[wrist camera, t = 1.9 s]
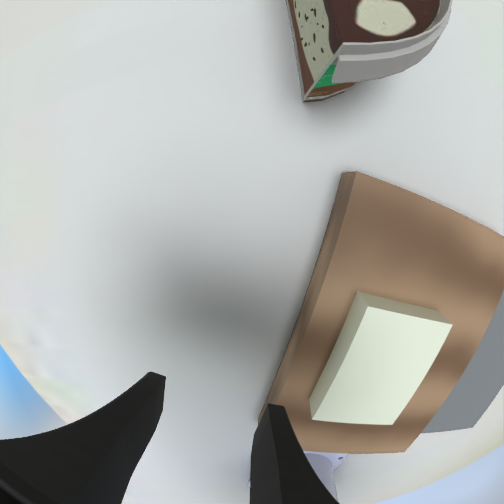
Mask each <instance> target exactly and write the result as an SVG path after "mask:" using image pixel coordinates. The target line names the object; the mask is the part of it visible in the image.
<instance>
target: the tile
mask: <svg viewBox="0 0 504 504" xmlns="http://www.w3.org/2000/svg"><path fill="white" fill-rule="evenodd" d="M452 325H453V324H451V323H450V322H449V321H448V320H447V319H446V318H445V317H444V316H443V315H442V314H441V313H440V312H438V311H437V310H433V309H429V308H425V307H421V306H416V305H412V304H408V303H404V302H400V301H396V300H391V299H387V298H383V297H379V296H375V295H371V294H367V293H363V292H359V291H357V292H356V295H355V298H354V300H353V303H352V305H351V308H350V310H349V313H348V315H347V318H346V320H345V323H344V325H343V327H342V330H341V332H340V334H339V337H338V339H337V341H336V344H335V346H334V348H333V350H332V353H331V355H330V357H329V359H328V361H327V363H326V365H325V368H324V370H323V372H322V374H321V376H320V378H319V380H318V382H317V384H316V386H315V388H314V390H313V392H312V394H311V396H310V398H309V402H310V409H311V416H312V420H319V421H329V422H340V423H354V424H376V425H392V424H393V423H394V422H395V420H396V419H397V418H398V416H399V415H400V413H401V412H402V411H403V409H404V408H405V406H406V405H407V403H408V402H409V400H410V399H411V398H412V396H413V394H414V393H415V391H416V390H417V388H418V387H419V385H420V384H421V382H422V380H423V379H424V377H425V375H426V374H427V372H428V370H429V369H430V367H431V365H432V363H433V362H434V360H435V358H436V356H437V355H438V353H439V351H440V349H441V347H442V345H443V343H444V341H445V339H446V337H447V335H448V333H449V331H450V329H451V327H452Z"/></svg>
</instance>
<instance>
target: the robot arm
mask: <svg viewBox="0 0 504 504" xmlns="http://www.w3.org/2000/svg"><path fill="white" fill-rule="evenodd" d="M165 380H166V376H163V375H160V374H157V373H154V372H149V373H147V374H146V375H145V376H144V377H143V378H141V379H140V380H139V381H138V382H137V383H136V384H134V385H133V386H132V387H131V388H129V389H128V390H127V391H125V392H124V393H123V394H121V395H120V396H118V397H117V398H116V399H114V400H113V401H111V402H110V403H108V404H106V405H105V406H103V407H102V408H100V409H98V410H97V411H95V412H93V413H91V414H90V415H88V416H86V417H84V418H82V419H80V420H77V421H75V422H73V423H71V424H68V425H66V426H63V427H60V428H58V429H55V430H52V431H49V432H45V433H41V434H36V435H32V436H28V437H23V438H15V439H5V440H0V504H121V503H122V500H123V497H124V494H125V491H126V489H127V486H128V483H129V481H130V478H131V476H132V474H133V472H134V470H135V468H136V466H137V464H138V462H139V460H140V458H141V456H142V455H143V453H144V451H145V449H146V447H147V445H148V443H149V441H150V439H151V438H152V436H153V434H154V432H155V430H156V427H157V424H158V422H159V419H160V416H161V413H162V411H163V401H164V390H165ZM347 455H348V453H325V452H312V451H303V449H302V447H301V445H300V443H299V441H298V439H297V437H296V435H295V432H294V430H293V428H292V425H291V423H290V420H289V417H288V415H287V412H286V409H285V407H284V406H281V405H275V404H270V403H268V404H267V407H266V409H265V411H264V413H263V416H262V418H261V420H260V423H259V425H258V427H257V429H256V431H255V434H254V439H253V445H252V452H251V471H250V481H249V482H248V487H250V504H339V503H338V500H337V493H336V486H335V480H334V473H333V471H334V470H335V469H336V468H337V467H338V466H339V464H340V463H341V462H342V461H343V460H344V459H345V457H346V456H347Z"/></svg>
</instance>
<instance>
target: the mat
mask: <svg viewBox="0 0 504 504" xmlns="http://www.w3.org/2000/svg"><path fill="white" fill-rule="evenodd" d="M503 385H504V290H503V293H502V295H501V298H500V300H499V303H498V305H497V308H496V310H495V312H494V314H493V317H492V319H491V321H490V323H489V325H488V328H487V330H486V332H485V334H484V336H483V338H482V340H481V342H480V344H479V346H478V347H477V349H476V351H475V353H474V355H473V357H472V358H471V360H470V362H469V364H468V365H467V367H466V369H465V370H464V372H463V374H462V375H461V377H460V379H459V380H458V382H457V383H456V385H455V387H454V388H453V390H452V391H451V393H450V394H449V396H448V397H447V399H446V400H445V401H444V403H443V404H442V406H441V407H440V408H439V410H438V411H437V413H436V414H435V415H434V417H433V418H432V419H431V421H430V422H429V423H428V424H427V426H426V427H425V428H424V429H423V431H422V432H421V433H431V432H442V431H451V430H459V429H466V428H472V427H473V426H474V425H475V424H476V423H477V421H478V420H479V419H480V418H481V416H482V415H483V414H484V412H485V411H486V409H487V408H488V407H489V405H490V404H491V402H492V401H493V400H494V398H495V397H496V395H497V394H498V392H499V391H500V389H501V388H502V386H503Z"/></svg>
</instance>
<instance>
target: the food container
mask: <svg viewBox="0 0 504 504" xmlns="http://www.w3.org/2000/svg"><path fill="white" fill-rule="evenodd" d="M286 3H287V8H288V13H289V19H290V24H291V29H292V35H293V41H294V46H295V52H296V59H297V65H298V72H299V79H300V86H301V93H302V101H303V102H311V101H321V100H324V99H326V98H329V97H332V96H335V95H337V94H340V93H343V92H344V91H346V90H347V89H348V88H350V87H351V86H353V85H354V84H355V83H357V82H361V81H367V80H373V79H379V78H384V77H387V76H390V75H393V74H396V73H399V72H402V71H404V70H406V69H408V68H410V67H411V66H413V65H415V64H417V63H418V62H420V61H421V60H422V59H423V58H424V57H425V56H426V55H427V54H428V53H430V51H431V50H432V48H433V47H434V45H435V43H436V42H437V40H438V39H439V37H440V35H441V34H442V32H443V31H444V29H445V27H446V26H447V24H448V21H449V17H450V13H451V5H452V0H286Z"/></svg>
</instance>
